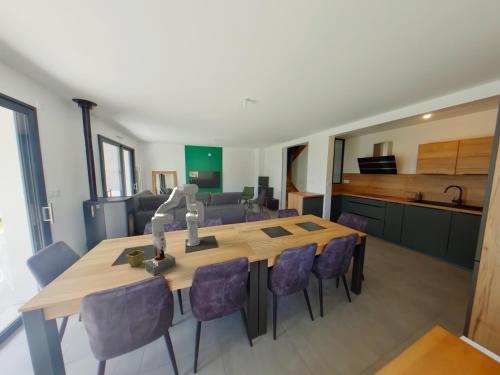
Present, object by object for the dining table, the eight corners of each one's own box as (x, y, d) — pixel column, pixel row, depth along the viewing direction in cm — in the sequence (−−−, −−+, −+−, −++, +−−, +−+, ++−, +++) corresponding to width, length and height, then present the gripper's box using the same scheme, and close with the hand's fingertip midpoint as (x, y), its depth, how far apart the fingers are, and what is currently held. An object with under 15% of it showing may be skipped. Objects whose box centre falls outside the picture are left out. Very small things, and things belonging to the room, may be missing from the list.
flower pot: (138, 260, 136) (137, 249, 135) (145, 262, 133) (144, 251, 132) (126, 266, 128) (125, 255, 127) (134, 268, 125) (133, 257, 124)
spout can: (162, 261, 129) (161, 242, 127) (165, 263, 127) (164, 244, 124) (156, 264, 125) (155, 244, 123) (159, 266, 123) (158, 246, 121)
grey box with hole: (166, 260, 136) (166, 251, 135) (175, 264, 129) (174, 255, 128) (145, 270, 122) (144, 260, 122) (154, 275, 116) (153, 265, 115)
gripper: (169, 233, 121) (171, 257, 123) (157, 229, 131) (159, 251, 133) (159, 237, 115) (161, 262, 117) (147, 232, 124) (149, 255, 126)
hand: (160, 256), depth 125 cm, fingers closed on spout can, 4 cm apart
